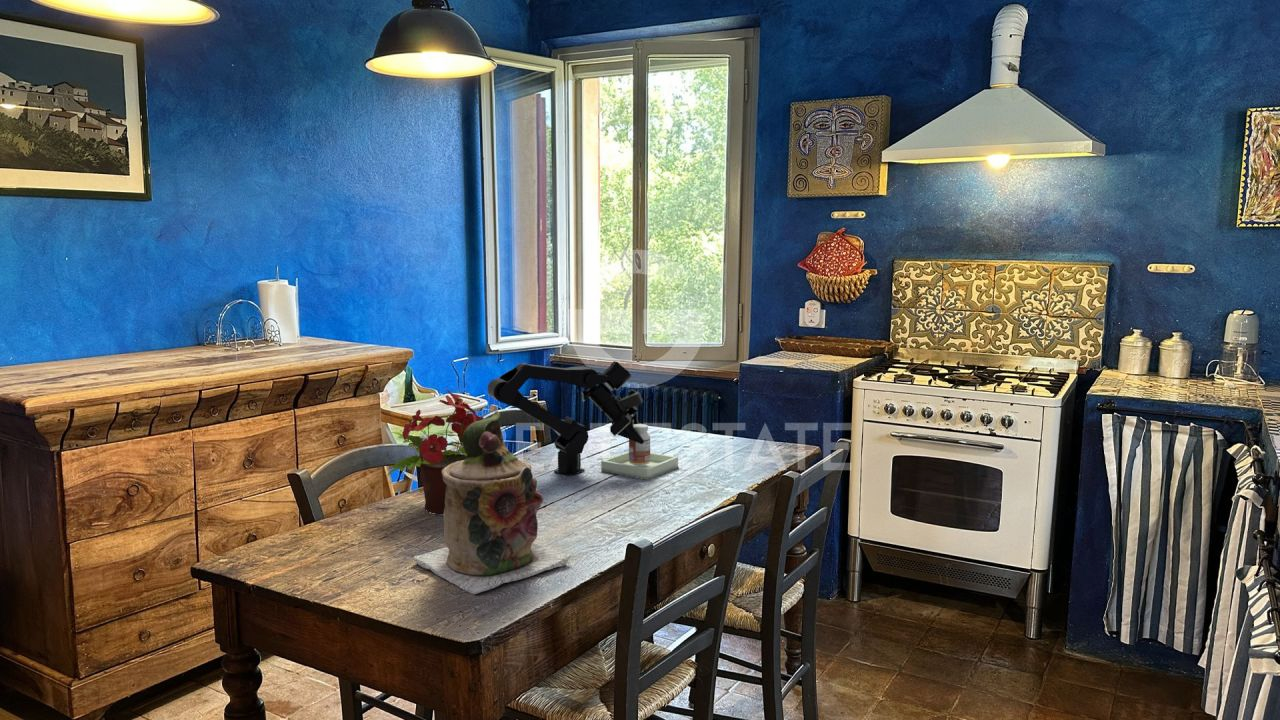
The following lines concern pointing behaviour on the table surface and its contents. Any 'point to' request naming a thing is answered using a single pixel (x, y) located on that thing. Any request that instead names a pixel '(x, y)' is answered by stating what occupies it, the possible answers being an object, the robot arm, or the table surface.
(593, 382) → the robot arm
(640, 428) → the pill bottle
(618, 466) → the tray
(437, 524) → the table surface
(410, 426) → the potted plant
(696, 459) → the table surface
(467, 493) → the cookie jar
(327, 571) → the table surface
